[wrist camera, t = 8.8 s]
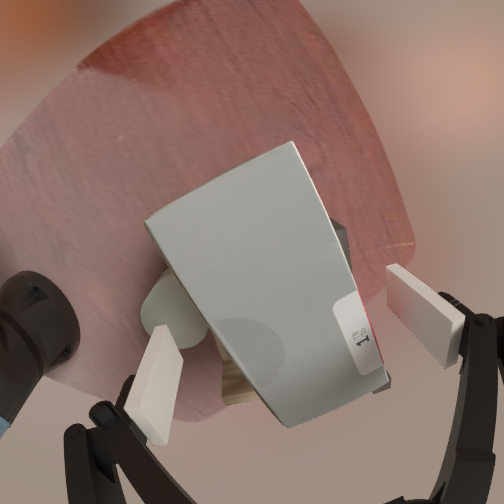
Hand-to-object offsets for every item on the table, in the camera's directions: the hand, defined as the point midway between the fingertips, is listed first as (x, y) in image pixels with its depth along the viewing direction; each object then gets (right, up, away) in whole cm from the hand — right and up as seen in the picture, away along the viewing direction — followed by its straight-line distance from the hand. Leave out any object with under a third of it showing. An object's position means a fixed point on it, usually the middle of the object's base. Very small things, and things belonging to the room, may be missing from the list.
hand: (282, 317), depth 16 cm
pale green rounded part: (-10, -1, +18) cm, 21 cm away
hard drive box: (-1, +6, +17) cm, 18 cm away
